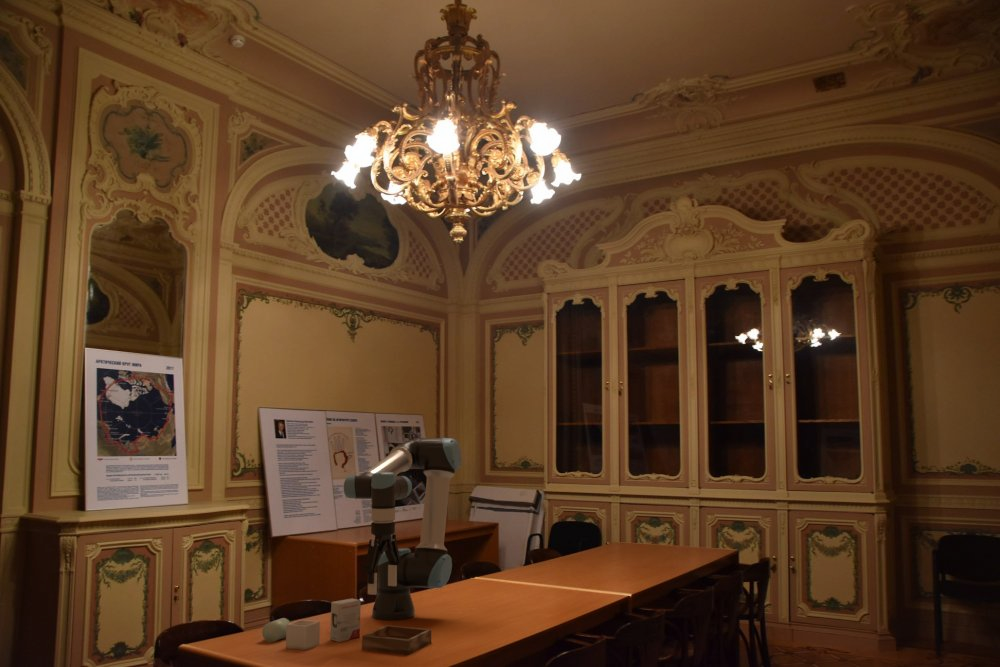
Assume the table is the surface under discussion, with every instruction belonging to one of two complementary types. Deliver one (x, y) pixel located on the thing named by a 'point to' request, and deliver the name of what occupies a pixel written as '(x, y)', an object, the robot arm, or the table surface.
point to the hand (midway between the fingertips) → (382, 590)
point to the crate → (396, 639)
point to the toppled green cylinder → (275, 630)
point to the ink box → (345, 619)
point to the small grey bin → (302, 634)
